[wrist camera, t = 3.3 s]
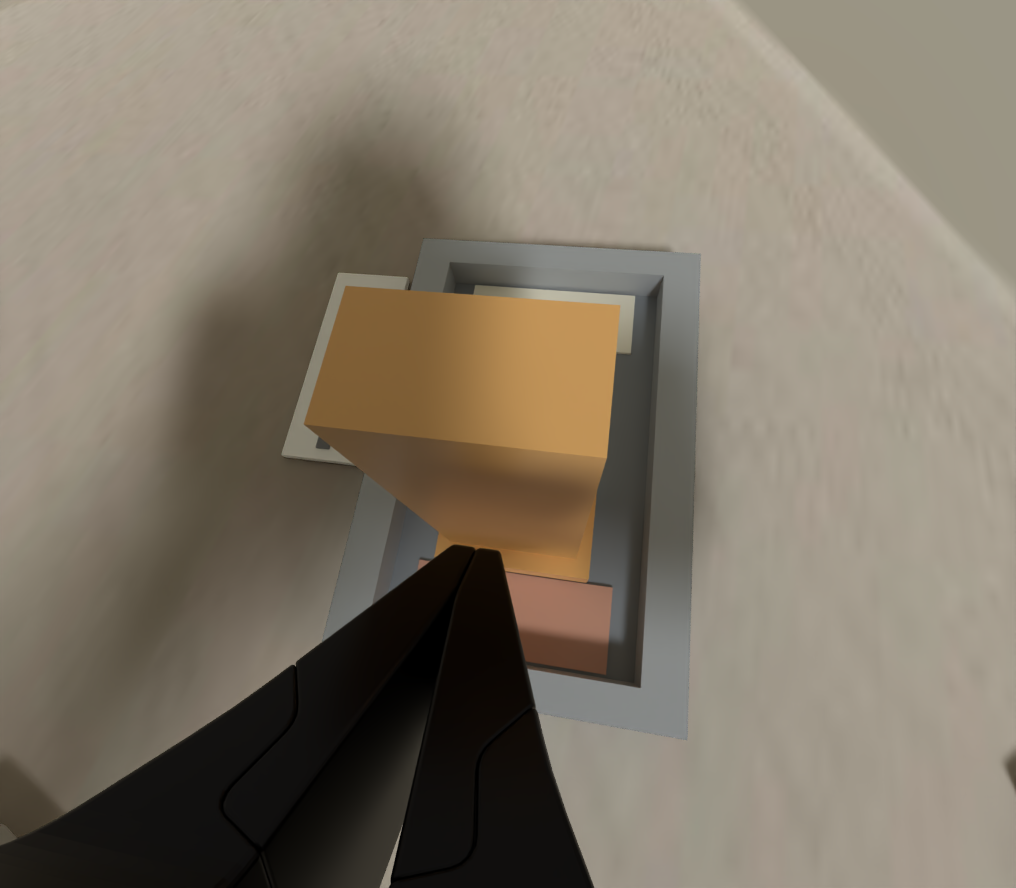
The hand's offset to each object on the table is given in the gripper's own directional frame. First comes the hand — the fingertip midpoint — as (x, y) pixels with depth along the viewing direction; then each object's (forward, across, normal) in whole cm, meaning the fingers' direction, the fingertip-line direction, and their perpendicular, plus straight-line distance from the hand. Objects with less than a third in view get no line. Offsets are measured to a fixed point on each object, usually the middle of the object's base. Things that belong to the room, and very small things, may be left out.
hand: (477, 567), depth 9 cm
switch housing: (+9, +2, +2) cm, 9 cm away
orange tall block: (+6, 0, +3) cm, 7 cm away
